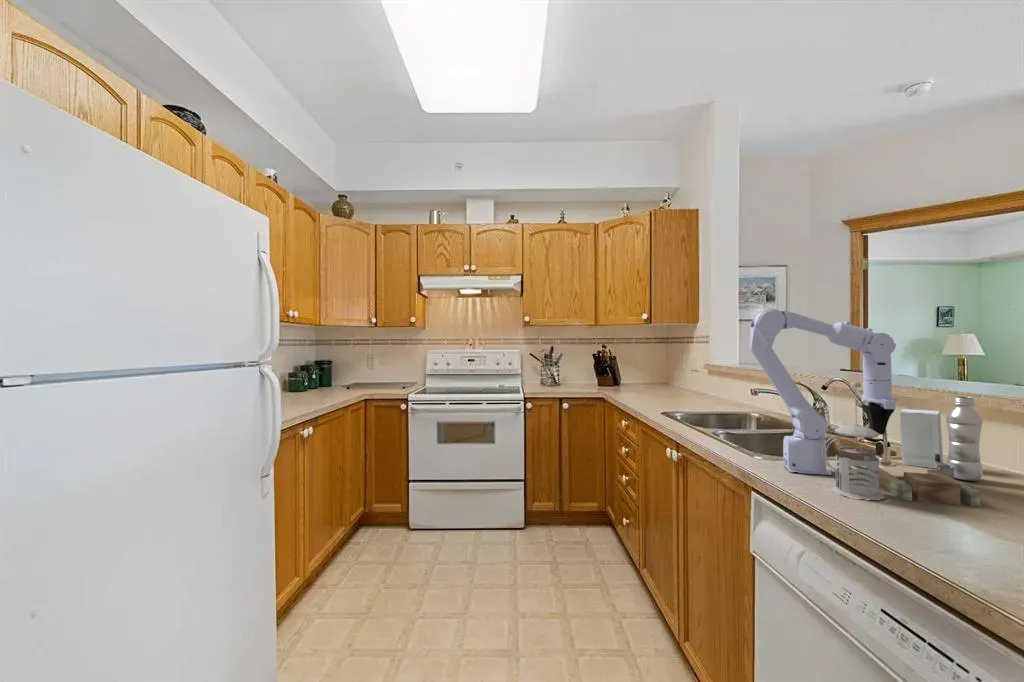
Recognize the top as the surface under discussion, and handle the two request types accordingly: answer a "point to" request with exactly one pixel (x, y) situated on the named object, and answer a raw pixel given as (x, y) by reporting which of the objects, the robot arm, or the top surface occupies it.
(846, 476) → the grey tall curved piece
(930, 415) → the skincare box
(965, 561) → the top surface
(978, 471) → the silver metal bottle
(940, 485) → the box
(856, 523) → the top surface
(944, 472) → the crank handle cylinder
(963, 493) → the bay
